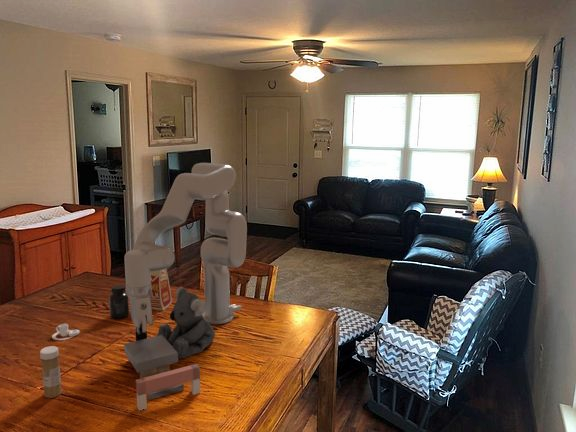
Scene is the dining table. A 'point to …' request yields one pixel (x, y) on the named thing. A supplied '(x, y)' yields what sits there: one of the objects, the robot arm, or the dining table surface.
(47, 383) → the sprinkles bottle
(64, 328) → the white looped ring piece
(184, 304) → the koala plush
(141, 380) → the pink u-shaped frame
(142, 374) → the track
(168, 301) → the milk carton
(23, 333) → the dining table surface
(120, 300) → the supplement bottle
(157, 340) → the slab
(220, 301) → the robot arm
